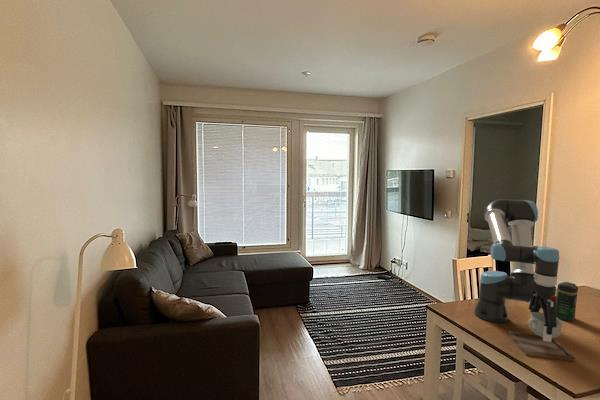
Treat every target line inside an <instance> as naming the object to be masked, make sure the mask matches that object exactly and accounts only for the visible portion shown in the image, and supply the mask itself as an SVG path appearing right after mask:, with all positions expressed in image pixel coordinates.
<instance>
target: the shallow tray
mask: <svg viewBox="0 0 600 400" xmlns="http://www.w3.org/2000/svg"><path fill="white" fill-rule="evenodd" d="M508 336H509V337H510V338H511V340H513V342H514V343H515V344H516V346H518V348H519V349H520V350H521V351H522V353H523V355H525V356H531V357H538V358H546V359H552V360H561V361H565V362H566V361H567V362H573V363H574V362H575V356H573V354H572V353H570V352H569V351H568V350H567V349H566V348H565V347H564V346H563V345H561V343H560V342H558V341H557V339H556V338H553V339H552V340H551V342H548V341H543V337H540V336H538V335H536V334H535V333H527V332H520V331H513V330H512V331H511V330H509V331H508Z"/></svg>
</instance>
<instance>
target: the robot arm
mask: <svg viewBox="0 0 600 400" xmlns="http://www.w3.org/2000/svg"><path fill="white" fill-rule="evenodd" d="M538 215H539V209H538V207H537V205H536V203H535V202H534V201H532V200H526V199H509V198H508V199H505V198H500V199H495V200H493V201H491V202H489V204H488V205H487V206H485V209H484V212H483V217H484V220H485V221H486V222H487V223H488V226H489V231H490V235H491V238H492V242H493V243H492V244H491V245H490V257H491V259H492V260H494V261H500V262H511V263H512V266H513V267H512V271H511V272H510V273H509V275H508V274H507V272H504V271H499V270H487V271H484V272H482V273H481V275H480V280H479V293H478V294H479V295H478V300H477V303H476V304H475V307H474V309H473V313H474V315H475V316H476V317H478V318H479V319H482V320H485V321H487V322H493V323H499V324H500V323H502V324H503V323H506V322H508V320H509V315H508V314H509V313H508V311H507V307H506V300H511V301H517V302H526V303H529V306H528V310H529V311H530V314H531V313H532V312H540V310H542V313H544V318H545V324H544V332H543V341H548V342H551V340H552V330H553V327H555V328H556V327H557V324H556V311H555V306H556V303H555V302H552V301H551V296H554V295H555V296H556V295H557V287H556V286H558V284H557V283H558V272H559V271H558V270H559V261H560V250H559V249H558V248H555V247H549V246H538V245H533V241H532V240H533V239H532V227H533V226H534V225H535V223H536V222H537V221H538V218H539V216H538ZM506 221H507V223H506ZM507 225H508V226H509V227H511V235H510V232H509V230H508V226H507Z"/></svg>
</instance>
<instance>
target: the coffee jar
mask: <svg viewBox="0 0 600 400" xmlns="http://www.w3.org/2000/svg"><path fill="white" fill-rule="evenodd" d="M578 293H579V286H578V285H577V284H575V283H572V282H569V281H562V282H560V283H558V284H557V287H556V296H557V297H556V306H555V311H556V317H557V318H558V319H560V320H561V321H568V322H572V321H573V320H575V318H576V308H577V299H578Z"/></svg>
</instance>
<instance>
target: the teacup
mask: <svg viewBox="0 0 600 400" xmlns="http://www.w3.org/2000/svg"><path fill="white" fill-rule="evenodd" d="M544 324H545V318H544V313H543V312H541V311H539V312H532V313H531V312H530V319H528V321H527V325H528V328H530V330H531V331H532V332H533V334H536V335H538V336H540V337H543V332H544ZM556 324H557V327H556V328H555V327H553V330H552V339H553V338H554V339H556V338H558V337H559V336H560V334H561V331H562V326H563V320H562V319H559V318H558V317H556Z"/></svg>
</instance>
